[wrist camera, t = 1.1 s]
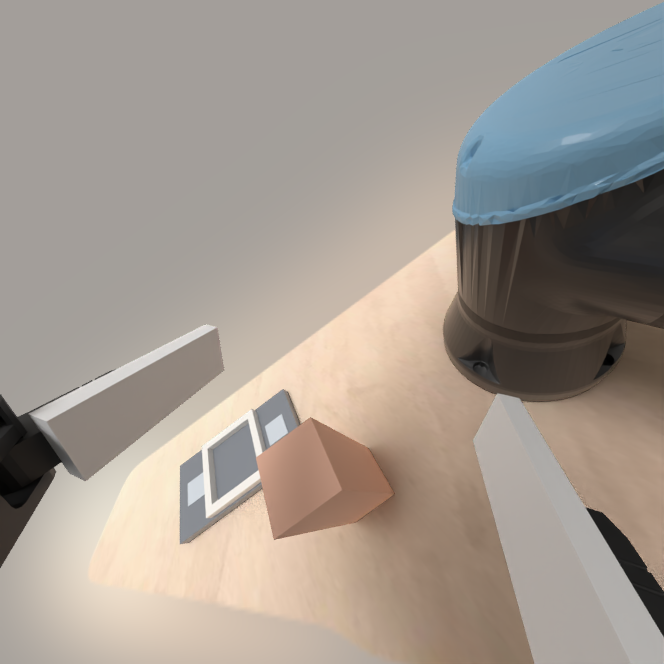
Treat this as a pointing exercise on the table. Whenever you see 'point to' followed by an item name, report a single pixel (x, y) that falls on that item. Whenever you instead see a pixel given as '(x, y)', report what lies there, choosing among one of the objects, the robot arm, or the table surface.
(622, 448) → the table surface
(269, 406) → the base board
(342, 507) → the terracotta pillar
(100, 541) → the table surface
